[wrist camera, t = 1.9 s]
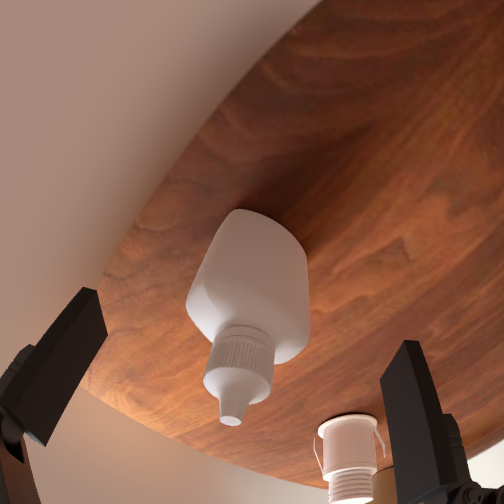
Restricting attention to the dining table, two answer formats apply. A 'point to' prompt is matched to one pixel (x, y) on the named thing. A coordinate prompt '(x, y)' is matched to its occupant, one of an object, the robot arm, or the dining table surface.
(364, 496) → the downlight
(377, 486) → the plant pot
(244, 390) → the eye dropper bottle
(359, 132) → the dining table surface
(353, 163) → the dining table surface
